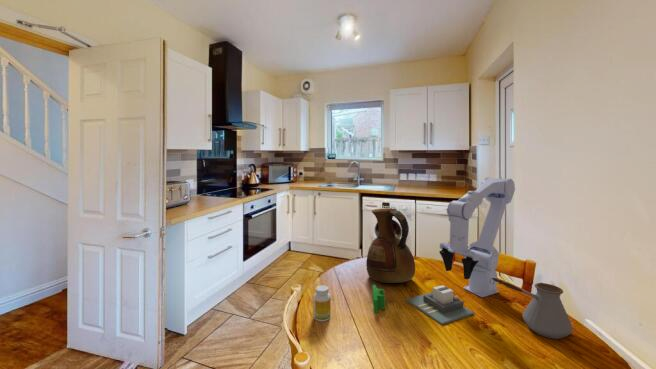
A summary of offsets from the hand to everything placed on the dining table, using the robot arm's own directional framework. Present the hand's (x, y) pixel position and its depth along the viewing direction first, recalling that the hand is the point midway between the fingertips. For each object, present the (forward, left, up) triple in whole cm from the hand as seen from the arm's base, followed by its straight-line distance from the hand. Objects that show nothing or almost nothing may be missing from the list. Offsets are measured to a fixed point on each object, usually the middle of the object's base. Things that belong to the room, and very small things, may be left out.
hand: (457, 274), depth 96 cm
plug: (+7, 0, -10) cm, 12 cm away
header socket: (+9, 0, -10) cm, 13 cm away
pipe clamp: (+26, -10, -10) cm, 30 cm away
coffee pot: (-6, +20, -10) cm, 23 cm away
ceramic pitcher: (+10, -25, -10) cm, 29 cm away
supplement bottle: (+47, -11, -10) cm, 49 cm away
